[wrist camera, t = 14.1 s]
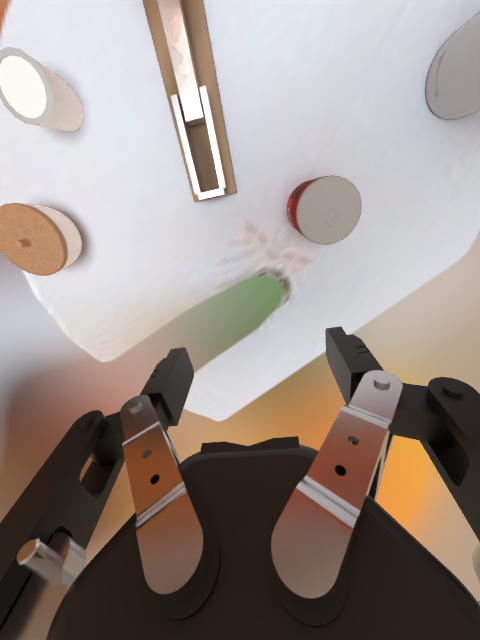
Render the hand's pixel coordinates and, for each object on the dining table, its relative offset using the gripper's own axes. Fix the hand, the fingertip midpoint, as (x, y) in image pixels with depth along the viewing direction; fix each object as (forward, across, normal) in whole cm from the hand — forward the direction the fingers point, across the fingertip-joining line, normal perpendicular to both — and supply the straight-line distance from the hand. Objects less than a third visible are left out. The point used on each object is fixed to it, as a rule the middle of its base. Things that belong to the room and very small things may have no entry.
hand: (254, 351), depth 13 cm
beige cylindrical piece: (+32, +24, -24) cm, 47 cm away
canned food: (+32, -10, -4) cm, 34 cm away
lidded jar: (+32, +34, -8) cm, 48 cm away
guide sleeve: (+31, +5, -15) cm, 35 cm away
